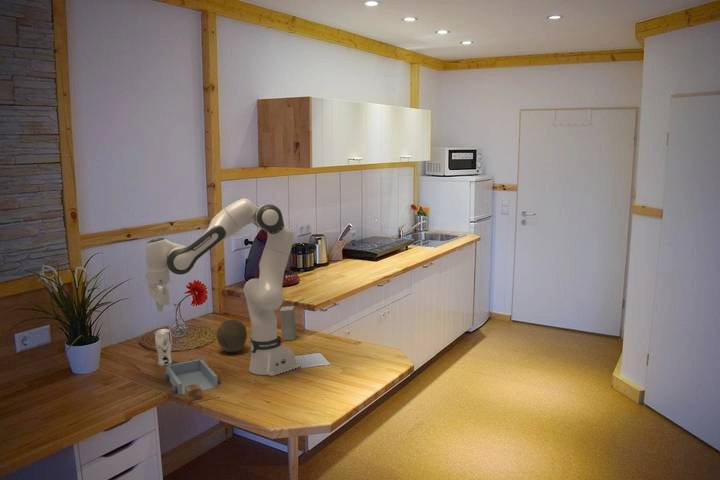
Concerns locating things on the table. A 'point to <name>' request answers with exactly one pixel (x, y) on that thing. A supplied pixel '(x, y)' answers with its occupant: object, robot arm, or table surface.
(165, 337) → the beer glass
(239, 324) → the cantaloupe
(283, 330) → the skincare box
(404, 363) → the table surface
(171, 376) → the flatbed
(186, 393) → the brown small block
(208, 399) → the tailgate
